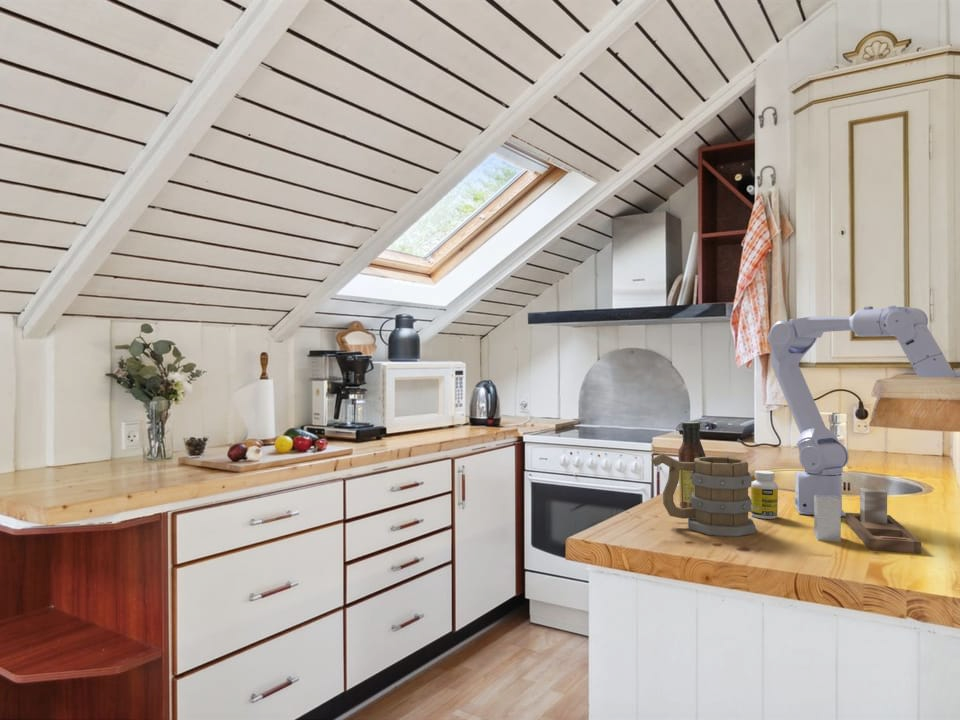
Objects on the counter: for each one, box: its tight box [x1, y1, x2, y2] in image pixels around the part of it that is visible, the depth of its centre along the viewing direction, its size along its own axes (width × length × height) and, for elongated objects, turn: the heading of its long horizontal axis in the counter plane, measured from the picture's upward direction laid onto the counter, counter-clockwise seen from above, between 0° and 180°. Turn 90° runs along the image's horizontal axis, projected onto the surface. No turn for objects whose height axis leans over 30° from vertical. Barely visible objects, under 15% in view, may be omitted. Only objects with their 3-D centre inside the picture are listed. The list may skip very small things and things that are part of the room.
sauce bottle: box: [678, 421, 707, 508], centre depth 161 cm, size 7×6×20 cm
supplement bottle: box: [750, 470, 779, 520], centre depth 153 cm, size 5×5×10 cm
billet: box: [813, 494, 842, 543], centre depth 135 cm, size 4×4×8 cm
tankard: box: [651, 452, 756, 538], centre depth 143 cm, size 20×13×15 cm, turn 74°
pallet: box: [845, 487, 922, 554], centre depth 136 cm, size 8×22×8 cm, turn 162°
